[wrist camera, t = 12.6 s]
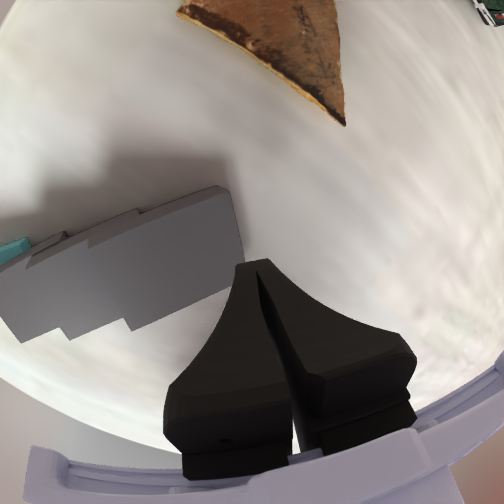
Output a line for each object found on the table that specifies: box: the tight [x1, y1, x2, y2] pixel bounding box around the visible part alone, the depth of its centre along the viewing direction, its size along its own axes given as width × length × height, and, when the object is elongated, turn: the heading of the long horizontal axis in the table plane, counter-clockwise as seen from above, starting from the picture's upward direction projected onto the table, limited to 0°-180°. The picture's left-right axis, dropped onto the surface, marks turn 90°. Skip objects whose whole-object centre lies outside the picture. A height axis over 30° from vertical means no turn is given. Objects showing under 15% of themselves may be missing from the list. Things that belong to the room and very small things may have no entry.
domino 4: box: [88, 185, 245, 331], centre depth 14 cm, size 2×5×7 cm
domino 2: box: [0, 231, 68, 343], centre depth 14 cm, size 2×5×7 cm
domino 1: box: [0, 237, 31, 266], centre depth 15 cm, size 2×5×7 cm
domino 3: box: [24, 208, 139, 341], centre depth 14 cm, size 2×5×7 cm
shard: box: [177, 0, 346, 127], centre depth 10 cm, size 11×8×2 cm
